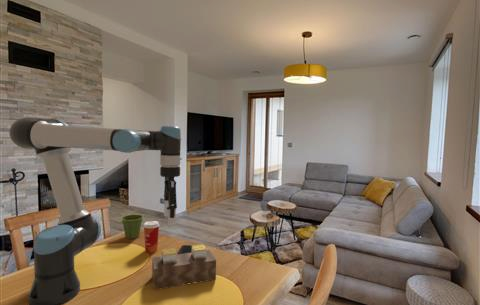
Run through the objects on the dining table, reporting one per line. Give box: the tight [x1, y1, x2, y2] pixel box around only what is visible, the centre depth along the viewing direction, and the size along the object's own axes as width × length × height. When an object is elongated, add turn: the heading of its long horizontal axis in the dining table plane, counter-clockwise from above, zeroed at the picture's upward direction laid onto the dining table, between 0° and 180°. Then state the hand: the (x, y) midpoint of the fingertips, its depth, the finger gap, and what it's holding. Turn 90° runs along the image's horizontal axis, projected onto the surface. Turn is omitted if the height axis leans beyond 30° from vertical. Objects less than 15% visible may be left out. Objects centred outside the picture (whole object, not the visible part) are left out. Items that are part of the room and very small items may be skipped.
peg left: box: [161, 247, 177, 265], centre depth 107 cm, size 5×5×7 cm
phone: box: [176, 244, 193, 254], centre depth 133 cm, size 8×1×15 cm
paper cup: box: [142, 220, 160, 254], centre depth 134 cm, size 8×8×14 cm
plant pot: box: [120, 213, 145, 240], centre depth 151 cm, size 12×12×11 cm
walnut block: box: [151, 249, 217, 291], centre depth 109 cm, size 24×10×8 cm, turn 111°
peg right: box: [191, 243, 207, 261], centre depth 111 cm, size 5×5×7 cm
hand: (169, 220), depth 106 cm, fingers open, 12 cm apart
